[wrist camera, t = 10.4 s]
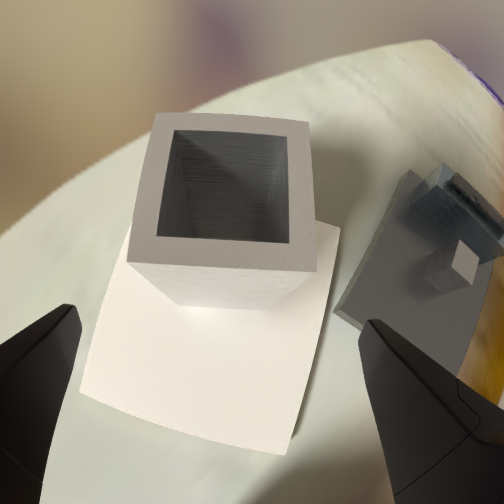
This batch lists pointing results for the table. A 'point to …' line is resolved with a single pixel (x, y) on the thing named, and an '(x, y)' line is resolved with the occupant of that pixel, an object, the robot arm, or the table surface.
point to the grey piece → (428, 265)
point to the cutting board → (209, 356)
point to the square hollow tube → (225, 210)
